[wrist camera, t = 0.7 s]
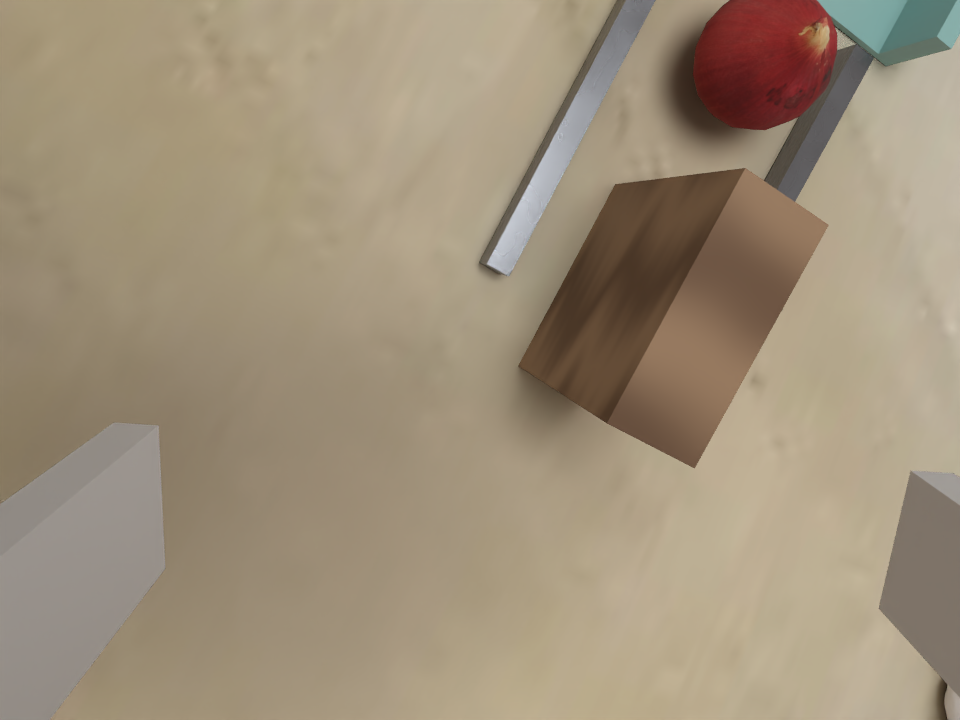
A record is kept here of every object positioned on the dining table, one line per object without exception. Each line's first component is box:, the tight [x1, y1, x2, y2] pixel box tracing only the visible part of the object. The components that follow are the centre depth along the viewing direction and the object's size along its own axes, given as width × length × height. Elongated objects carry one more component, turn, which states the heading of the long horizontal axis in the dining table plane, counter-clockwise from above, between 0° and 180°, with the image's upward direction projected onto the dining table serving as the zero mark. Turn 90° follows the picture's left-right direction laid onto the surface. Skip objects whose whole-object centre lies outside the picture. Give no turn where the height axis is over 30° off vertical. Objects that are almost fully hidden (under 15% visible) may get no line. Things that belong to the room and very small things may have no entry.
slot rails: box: [479, 0, 874, 276], centre depth 36 cm, size 18×12×2 cm
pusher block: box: [519, 168, 828, 468], centre depth 32 cm, size 10×4×11 cm, turn 151°
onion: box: [693, 0, 837, 130], centre depth 32 cm, size 6×6×8 cm
